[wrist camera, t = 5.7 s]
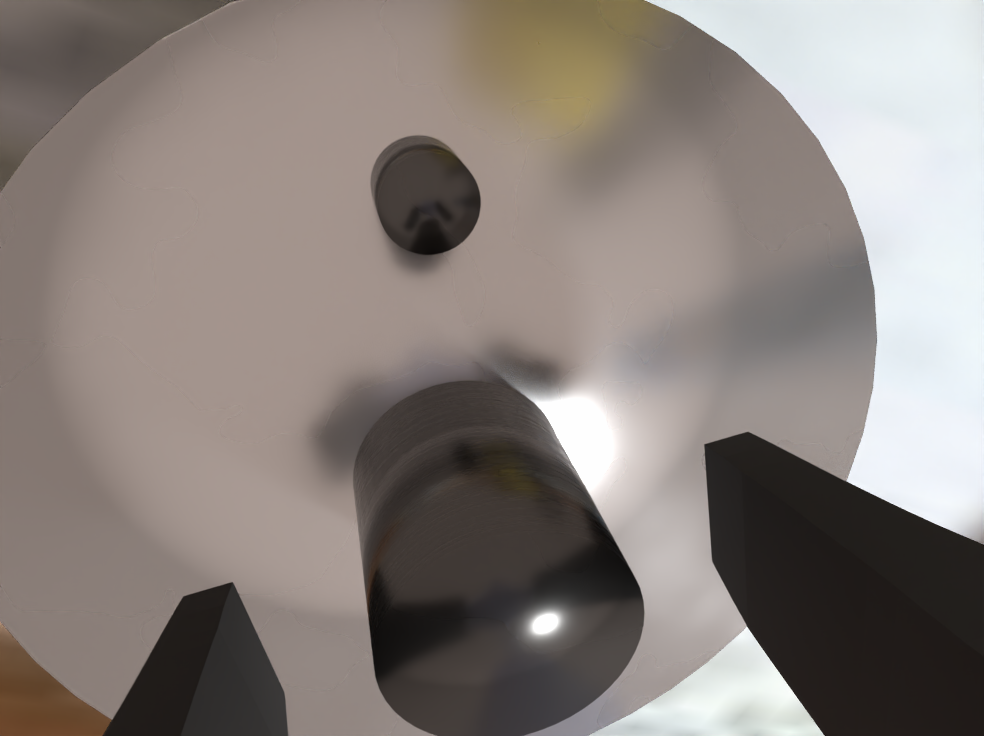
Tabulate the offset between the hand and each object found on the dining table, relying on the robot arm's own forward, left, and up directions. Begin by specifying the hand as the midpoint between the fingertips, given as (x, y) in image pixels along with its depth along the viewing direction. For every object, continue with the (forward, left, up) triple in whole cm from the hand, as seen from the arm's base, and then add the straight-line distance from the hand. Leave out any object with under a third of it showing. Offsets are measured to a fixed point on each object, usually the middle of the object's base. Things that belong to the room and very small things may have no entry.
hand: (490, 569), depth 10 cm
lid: (0, 0, -3) cm, 3 cm away
